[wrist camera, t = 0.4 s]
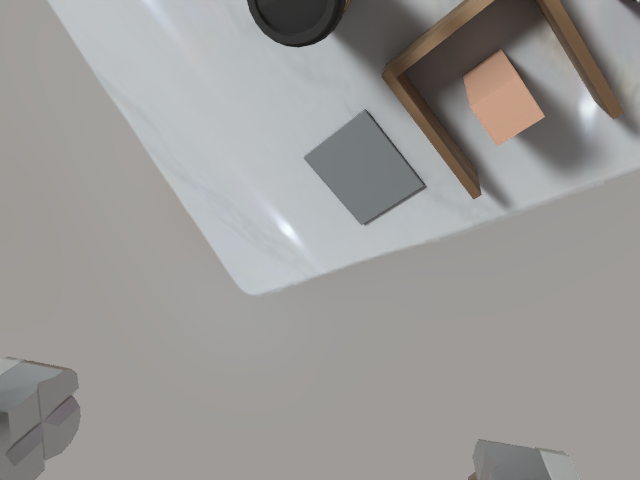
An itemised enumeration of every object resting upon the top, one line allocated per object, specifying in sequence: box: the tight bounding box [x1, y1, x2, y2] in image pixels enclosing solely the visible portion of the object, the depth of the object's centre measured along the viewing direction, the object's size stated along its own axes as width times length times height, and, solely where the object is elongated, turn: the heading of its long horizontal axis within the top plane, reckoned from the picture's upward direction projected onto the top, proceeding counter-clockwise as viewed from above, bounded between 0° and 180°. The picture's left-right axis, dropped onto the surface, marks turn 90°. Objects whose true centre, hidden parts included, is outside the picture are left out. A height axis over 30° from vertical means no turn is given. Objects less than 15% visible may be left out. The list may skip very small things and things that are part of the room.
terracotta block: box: [463, 49, 545, 146], centre depth 45 cm, size 4×4×12 cm
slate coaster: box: [304, 109, 424, 225], centre depth 59 cm, size 10×12×1 cm
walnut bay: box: [382, 0, 624, 199], centre depth 48 cm, size 16×17×6 cm
